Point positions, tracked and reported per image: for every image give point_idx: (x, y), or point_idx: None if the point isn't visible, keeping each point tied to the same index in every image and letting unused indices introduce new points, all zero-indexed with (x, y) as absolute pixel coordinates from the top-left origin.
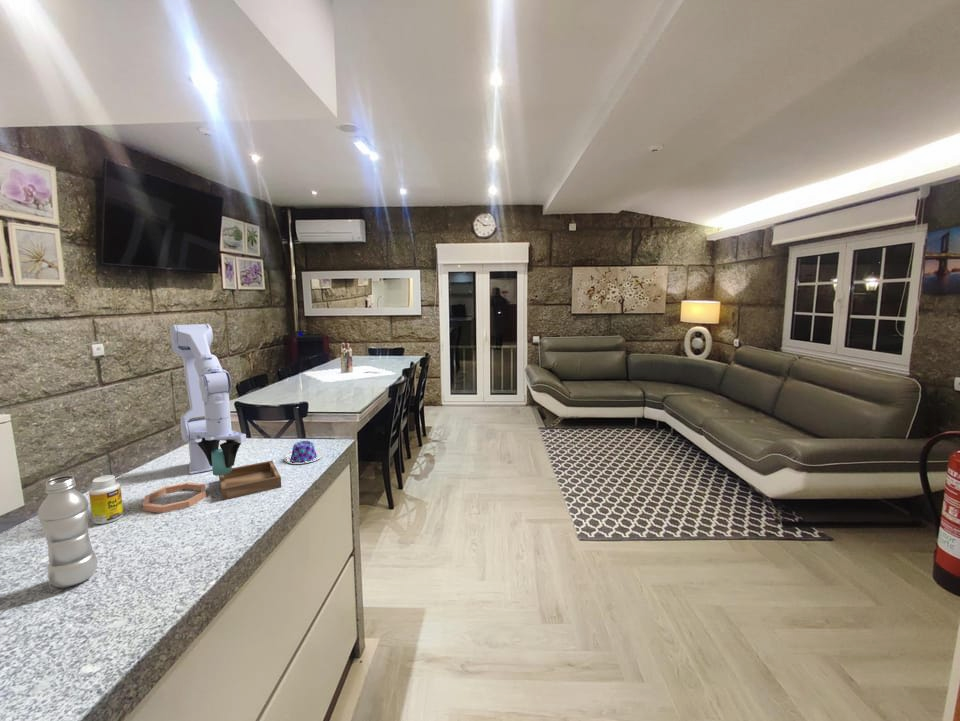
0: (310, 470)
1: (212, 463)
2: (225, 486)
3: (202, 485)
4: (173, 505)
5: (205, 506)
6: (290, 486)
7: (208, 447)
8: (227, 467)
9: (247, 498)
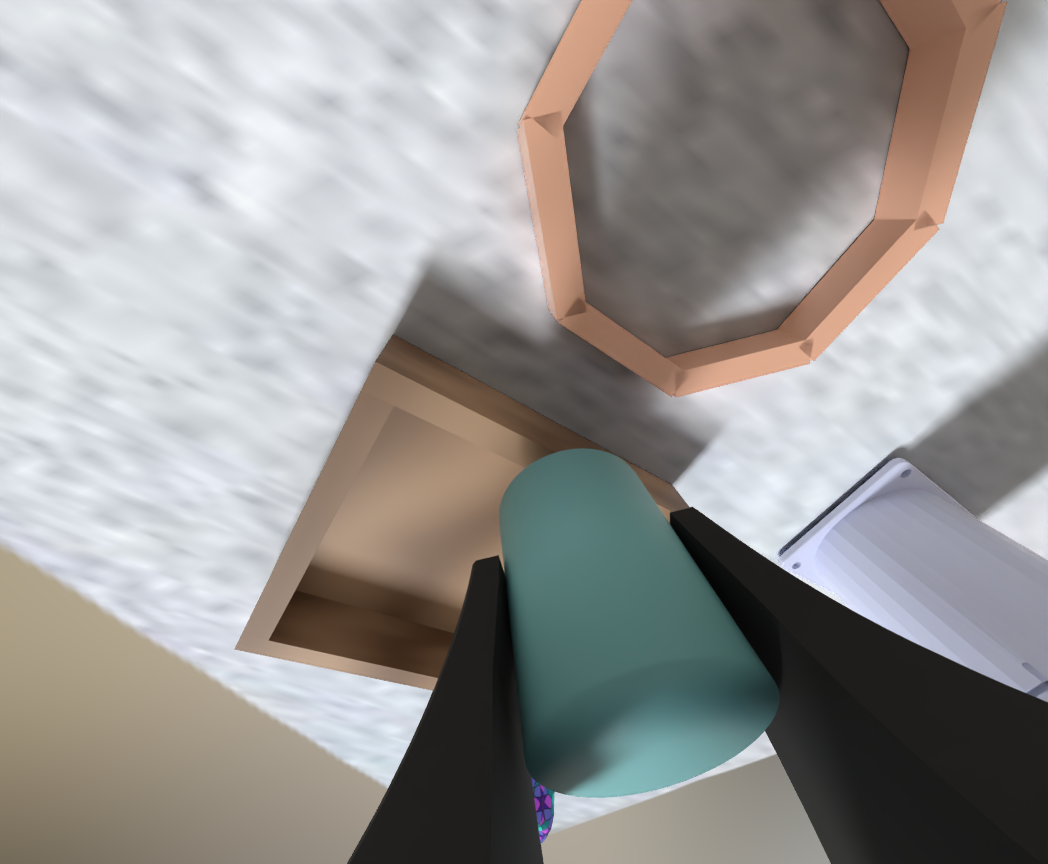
0: (347, 717)
1: (641, 528)
2: (409, 408)
3: (673, 377)
4: None
5: (406, 203)
6: (235, 611)
7: (881, 765)
8: (483, 559)
9: (276, 425)
